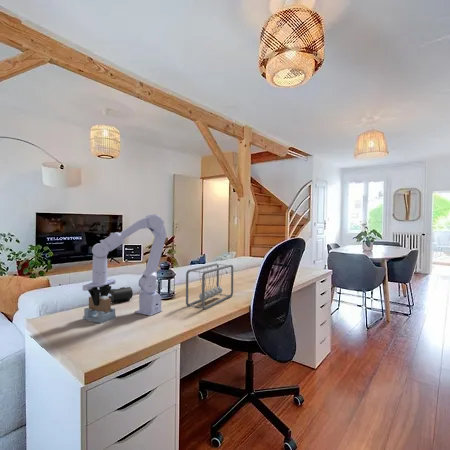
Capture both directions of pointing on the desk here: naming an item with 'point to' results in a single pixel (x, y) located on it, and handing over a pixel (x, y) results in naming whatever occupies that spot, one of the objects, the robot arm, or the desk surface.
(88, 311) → the display stand
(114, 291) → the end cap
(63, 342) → the desk surface
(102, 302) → the tan brown bar
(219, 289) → the newton's cradle
